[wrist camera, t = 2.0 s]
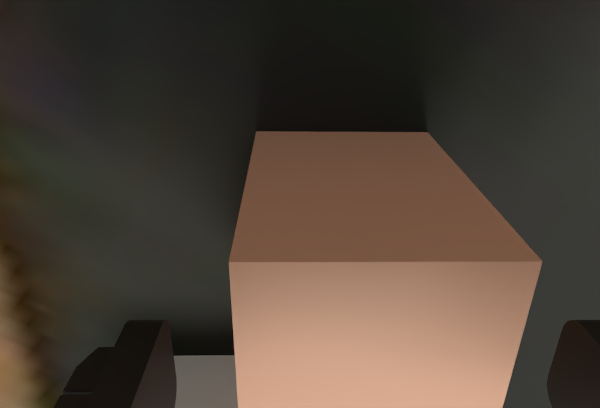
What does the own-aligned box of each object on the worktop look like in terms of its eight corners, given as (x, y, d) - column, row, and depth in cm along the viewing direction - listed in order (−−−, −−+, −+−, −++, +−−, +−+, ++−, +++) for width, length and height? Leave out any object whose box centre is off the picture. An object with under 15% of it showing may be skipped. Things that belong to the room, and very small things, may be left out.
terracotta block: (256, 131, 14) (228, 262, 7) (427, 131, 14) (542, 261, 8) (260, 275, 16) (241, 470, 10) (408, 274, 16) (486, 468, 10)
